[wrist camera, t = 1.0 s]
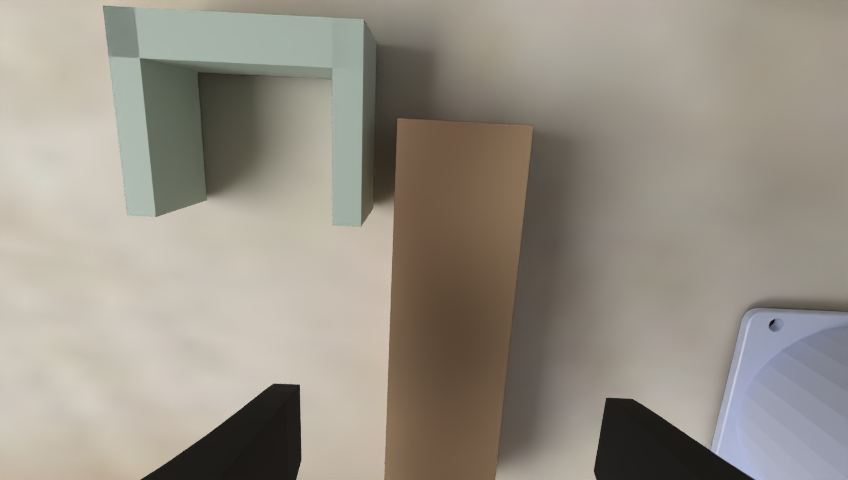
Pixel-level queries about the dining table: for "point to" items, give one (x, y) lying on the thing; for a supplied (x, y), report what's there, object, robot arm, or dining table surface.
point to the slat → (452, 294)
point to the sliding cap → (232, 54)
